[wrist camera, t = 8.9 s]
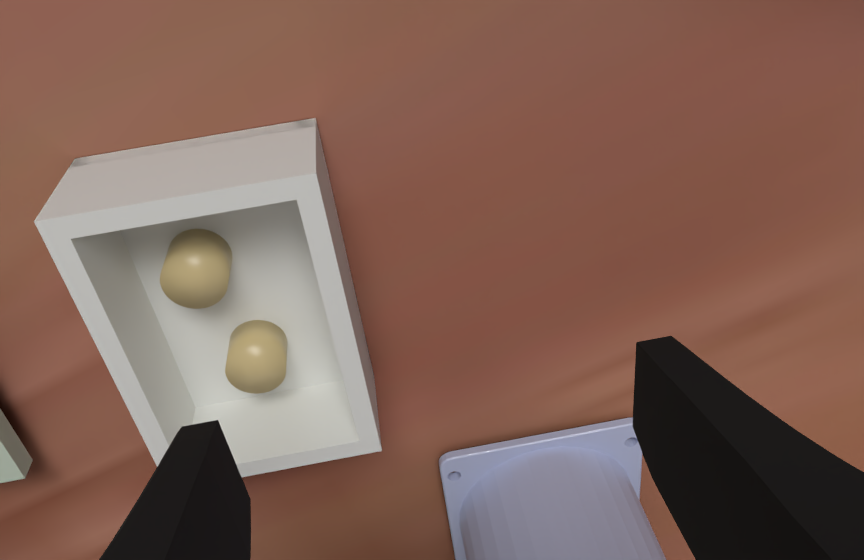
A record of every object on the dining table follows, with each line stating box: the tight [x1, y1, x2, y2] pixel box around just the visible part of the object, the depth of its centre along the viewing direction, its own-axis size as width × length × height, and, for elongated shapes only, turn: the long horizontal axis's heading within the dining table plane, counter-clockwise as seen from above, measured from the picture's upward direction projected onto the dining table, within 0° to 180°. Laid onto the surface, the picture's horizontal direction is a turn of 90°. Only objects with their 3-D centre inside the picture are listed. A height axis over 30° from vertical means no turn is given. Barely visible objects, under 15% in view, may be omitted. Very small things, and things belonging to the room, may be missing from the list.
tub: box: [34, 118, 382, 477], centre depth 21 cm, size 10×7×4 cm
